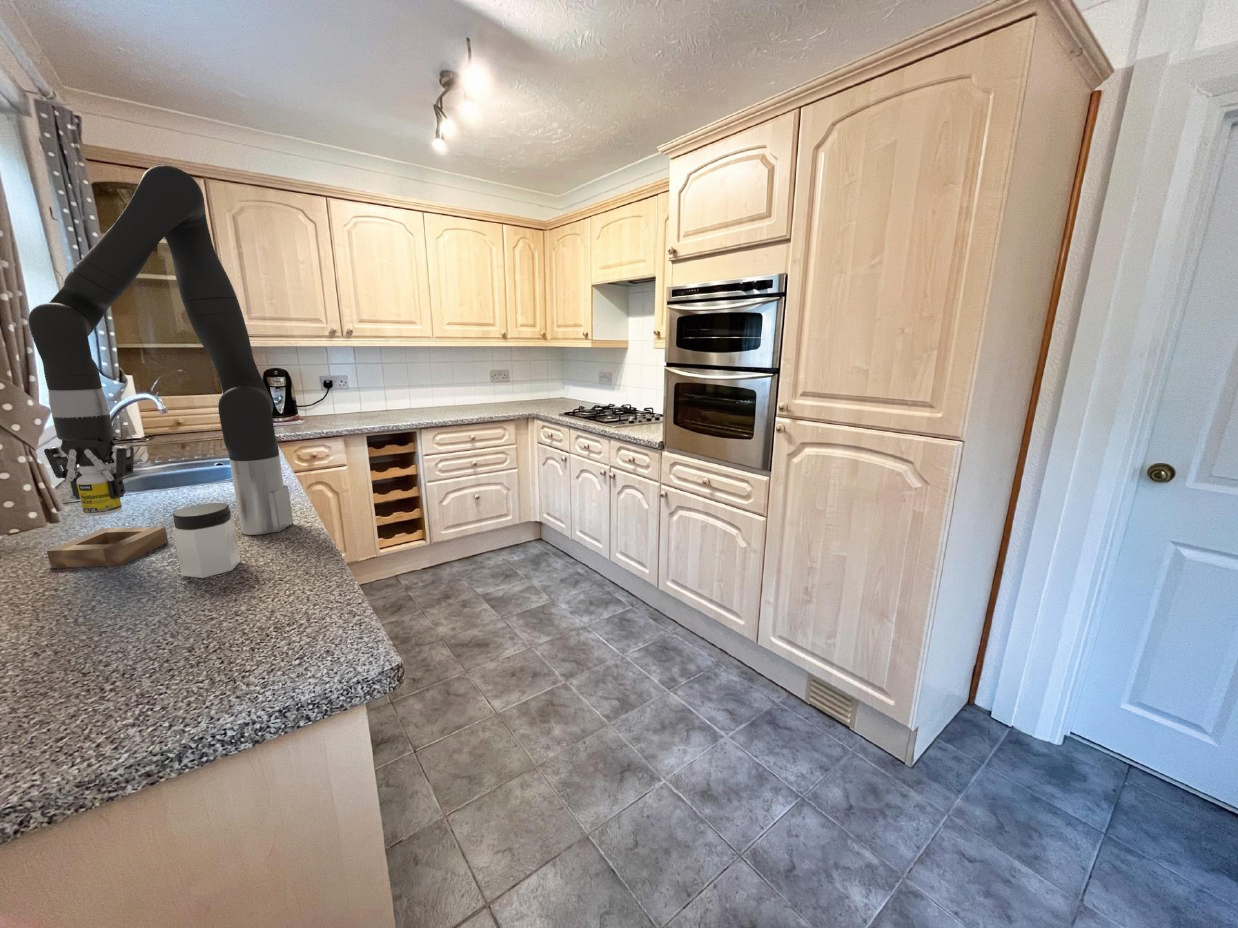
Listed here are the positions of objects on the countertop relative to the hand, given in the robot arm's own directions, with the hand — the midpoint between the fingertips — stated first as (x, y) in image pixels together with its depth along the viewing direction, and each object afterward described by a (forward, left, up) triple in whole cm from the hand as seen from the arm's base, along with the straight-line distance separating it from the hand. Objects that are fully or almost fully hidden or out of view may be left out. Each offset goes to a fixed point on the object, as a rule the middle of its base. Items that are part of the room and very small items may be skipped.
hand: (100, 497), depth 98 cm
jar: (-24, +9, -12) cm, 28 cm away
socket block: (0, 0, -12) cm, 12 cm away
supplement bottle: (0, 0, -3) cm, 3 cm away
